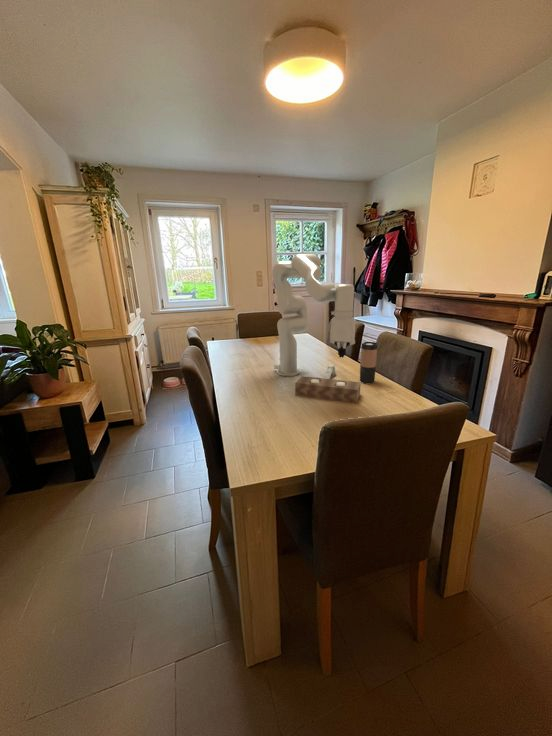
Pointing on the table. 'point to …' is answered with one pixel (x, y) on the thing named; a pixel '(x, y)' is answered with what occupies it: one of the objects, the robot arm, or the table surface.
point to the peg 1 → (314, 381)
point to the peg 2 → (340, 384)
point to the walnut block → (328, 389)
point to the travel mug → (368, 362)
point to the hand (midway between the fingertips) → (341, 356)
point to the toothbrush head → (330, 372)
